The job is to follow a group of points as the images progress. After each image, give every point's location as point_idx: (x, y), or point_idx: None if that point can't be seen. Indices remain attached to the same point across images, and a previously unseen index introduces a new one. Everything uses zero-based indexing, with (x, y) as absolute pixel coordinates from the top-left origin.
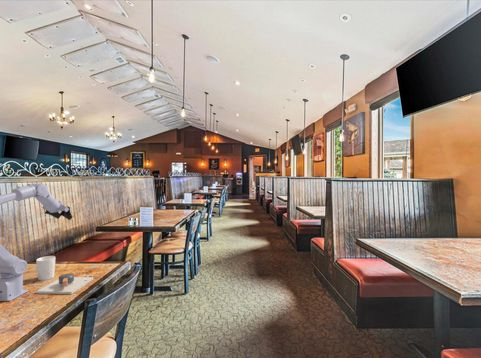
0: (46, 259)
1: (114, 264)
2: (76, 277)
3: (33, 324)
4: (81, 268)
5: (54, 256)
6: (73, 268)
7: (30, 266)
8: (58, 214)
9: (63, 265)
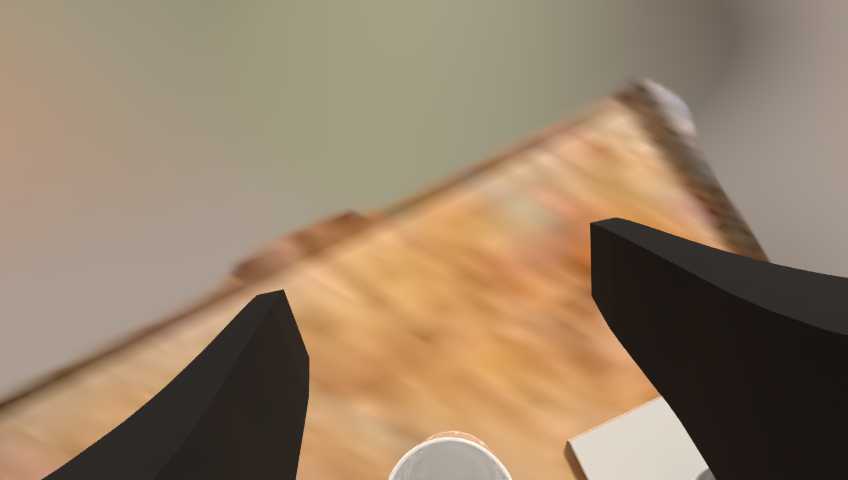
0: (400, 472)
1: (607, 131)
2: (666, 404)
3: None
4: (489, 270)
5: (459, 442)
6: (442, 293)
7: (142, 403)
8: (275, 355)
9: (327, 290)
